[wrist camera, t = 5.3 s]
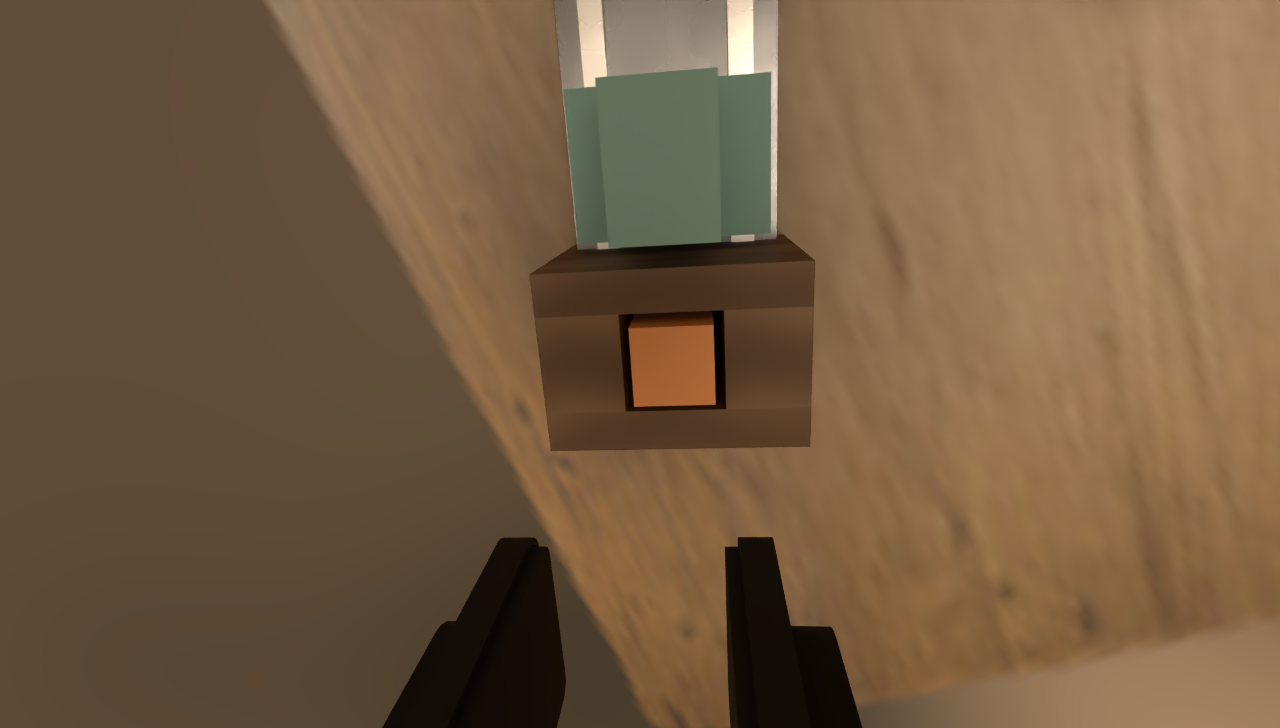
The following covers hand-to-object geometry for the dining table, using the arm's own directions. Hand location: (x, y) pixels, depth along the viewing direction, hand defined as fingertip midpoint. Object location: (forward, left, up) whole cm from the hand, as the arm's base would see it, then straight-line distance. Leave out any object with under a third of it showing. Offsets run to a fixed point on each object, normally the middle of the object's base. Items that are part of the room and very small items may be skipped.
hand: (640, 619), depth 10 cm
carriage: (-7, 0, -19) cm, 20 cm away
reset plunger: (0, 0, -21) cm, 21 cm away
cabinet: (0, 0, -21) cm, 21 cm away
